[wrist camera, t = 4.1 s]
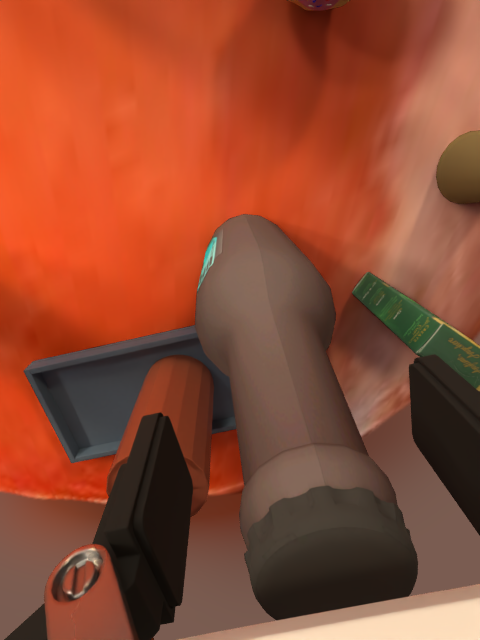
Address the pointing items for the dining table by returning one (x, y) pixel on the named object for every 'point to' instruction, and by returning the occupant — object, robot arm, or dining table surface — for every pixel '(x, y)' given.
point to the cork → (461, 169)
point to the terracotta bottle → (176, 417)
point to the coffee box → (420, 327)
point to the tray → (114, 389)
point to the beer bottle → (296, 432)
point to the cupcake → (319, 4)
